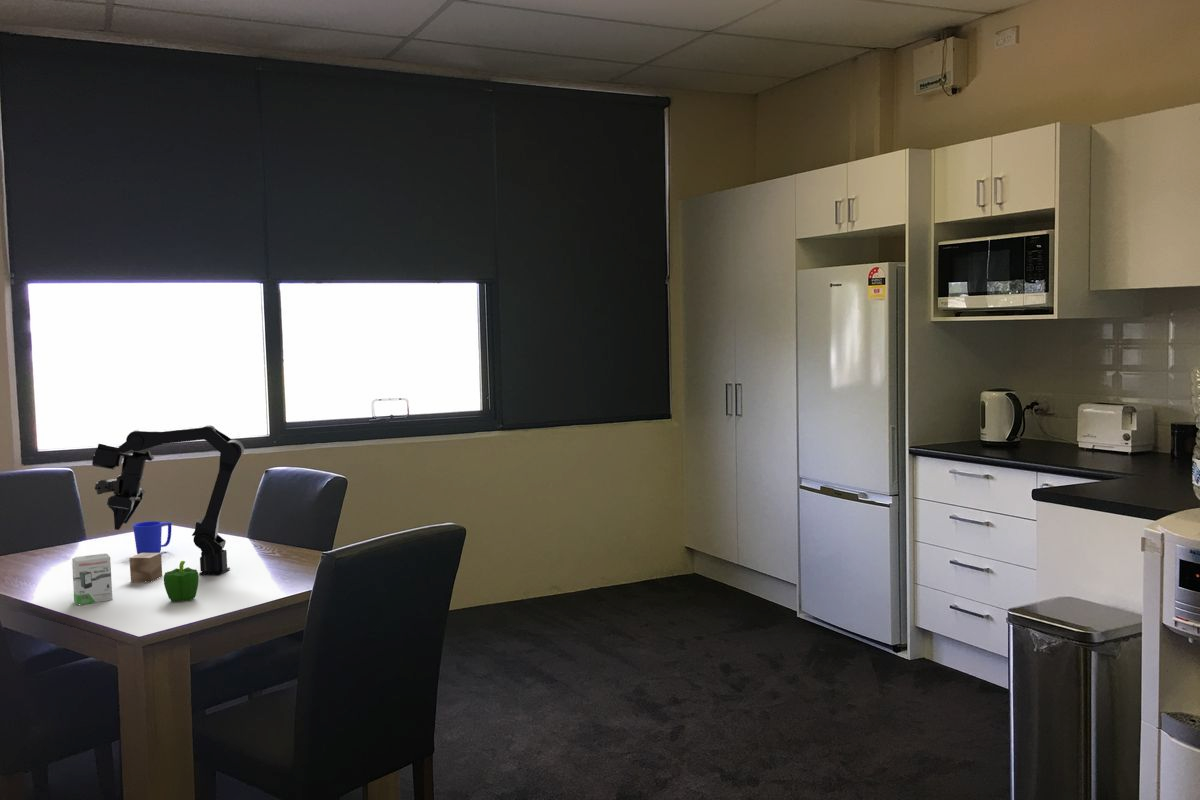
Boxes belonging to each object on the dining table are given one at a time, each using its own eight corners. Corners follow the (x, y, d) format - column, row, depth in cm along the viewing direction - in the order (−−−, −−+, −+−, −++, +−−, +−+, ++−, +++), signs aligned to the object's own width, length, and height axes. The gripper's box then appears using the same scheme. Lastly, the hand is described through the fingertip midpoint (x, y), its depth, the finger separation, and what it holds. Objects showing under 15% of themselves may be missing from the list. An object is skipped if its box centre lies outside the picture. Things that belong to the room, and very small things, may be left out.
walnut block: (162, 576, 279) (161, 552, 278) (151, 582, 273) (149, 557, 272) (142, 576, 279) (141, 552, 279) (130, 582, 273) (129, 557, 273)
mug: (179, 551, 310) (178, 520, 309) (144, 559, 300) (143, 527, 299) (164, 548, 315) (162, 518, 314) (129, 556, 305) (127, 525, 304)
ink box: (76, 606, 250) (73, 561, 249) (73, 601, 254) (71, 557, 253) (113, 599, 255) (110, 556, 254) (110, 595, 259) (107, 552, 258)
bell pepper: (187, 605, 249) (185, 567, 248) (159, 604, 251) (156, 566, 250) (206, 595, 257) (204, 559, 257) (178, 595, 259) (176, 558, 258)
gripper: (109, 463, 282) (98, 515, 282) (92, 472, 264) (81, 528, 264) (150, 470, 284) (139, 521, 285) (136, 479, 266) (124, 534, 267)
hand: (120, 526), depth 275 cm, fingers open, 9 cm apart
